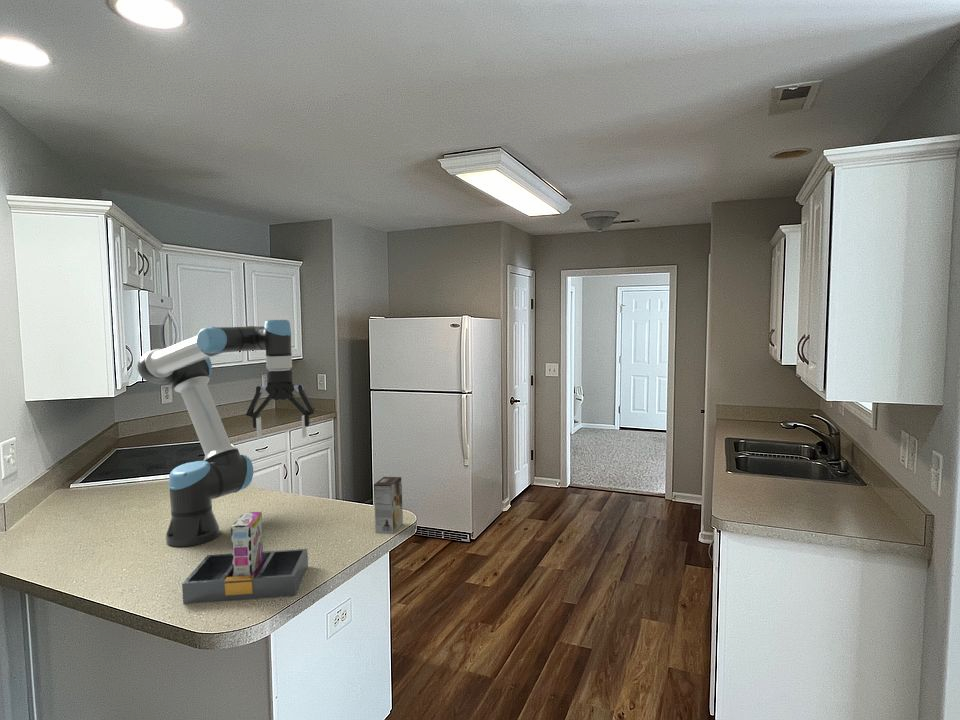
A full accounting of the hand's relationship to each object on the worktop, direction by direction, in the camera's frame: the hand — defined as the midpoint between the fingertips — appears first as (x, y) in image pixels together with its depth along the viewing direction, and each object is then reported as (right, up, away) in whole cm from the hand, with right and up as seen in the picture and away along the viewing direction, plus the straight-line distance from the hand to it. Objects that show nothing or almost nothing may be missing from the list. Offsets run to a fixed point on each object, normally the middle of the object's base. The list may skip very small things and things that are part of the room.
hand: (282, 437), depth 176 cm
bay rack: (+2, -34, -28) cm, 45 cm away
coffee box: (+32, -31, +9) cm, 46 cm away
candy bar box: (+1, -34, -28) cm, 44 cm away
